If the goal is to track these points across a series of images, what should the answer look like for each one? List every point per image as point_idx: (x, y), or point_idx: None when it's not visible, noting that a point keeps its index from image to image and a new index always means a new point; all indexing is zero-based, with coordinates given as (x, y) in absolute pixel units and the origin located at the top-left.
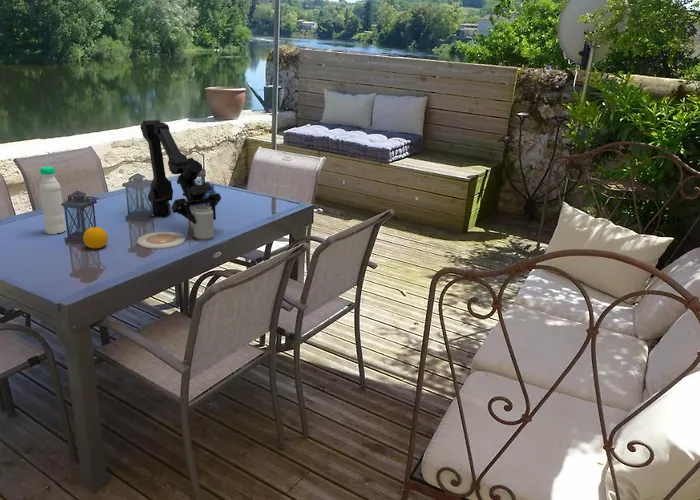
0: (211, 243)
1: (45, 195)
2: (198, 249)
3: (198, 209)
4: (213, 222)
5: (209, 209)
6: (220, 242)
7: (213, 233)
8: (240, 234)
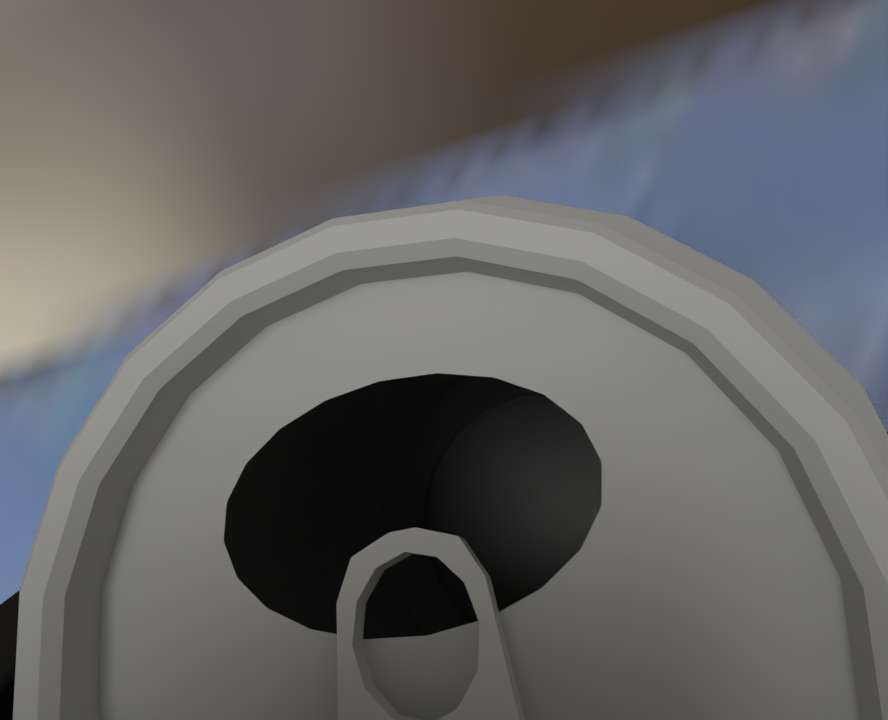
0: (585, 198)
1: None
2: (882, 44)
3: (688, 687)
4: (325, 420)
5: (258, 273)
6: (456, 178)
7: (423, 400)
8: (87, 342)
